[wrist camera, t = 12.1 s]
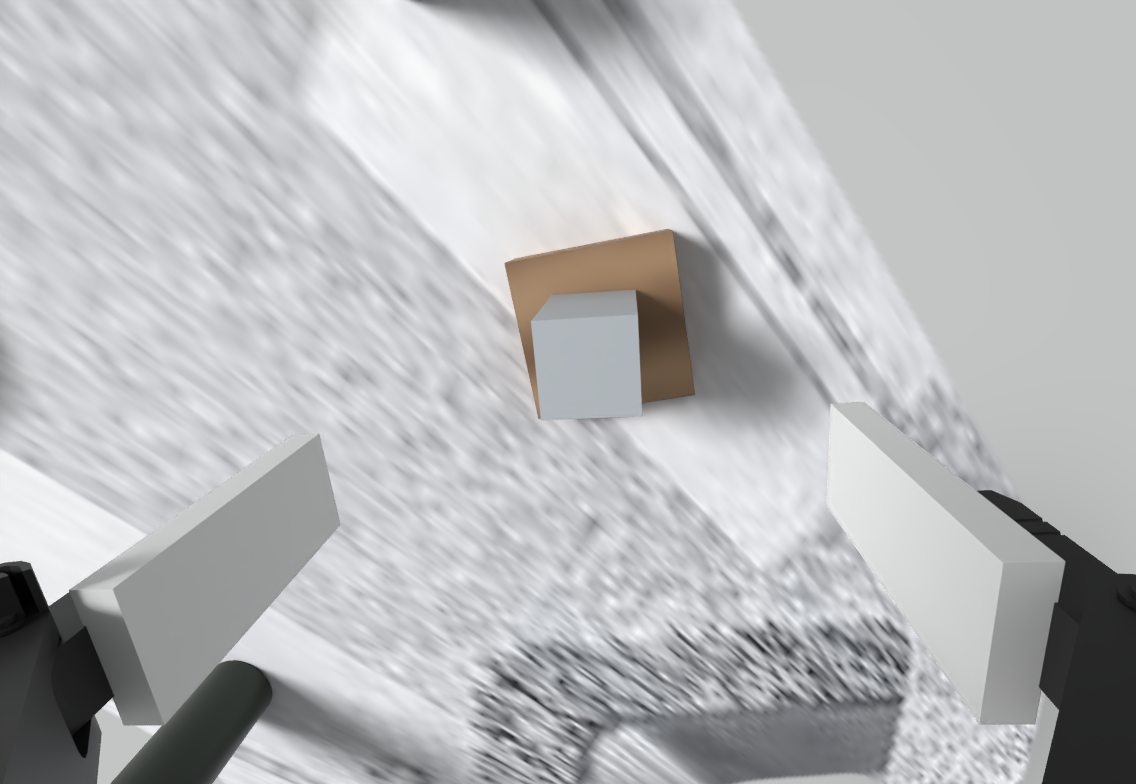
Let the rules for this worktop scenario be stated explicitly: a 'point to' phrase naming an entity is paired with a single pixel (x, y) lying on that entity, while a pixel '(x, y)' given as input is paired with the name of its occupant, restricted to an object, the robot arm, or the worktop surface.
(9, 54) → the worktop surface
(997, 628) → the robot arm
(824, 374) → the worktop surface
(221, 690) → the wine bottle
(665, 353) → the walnut block
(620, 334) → the slate block
